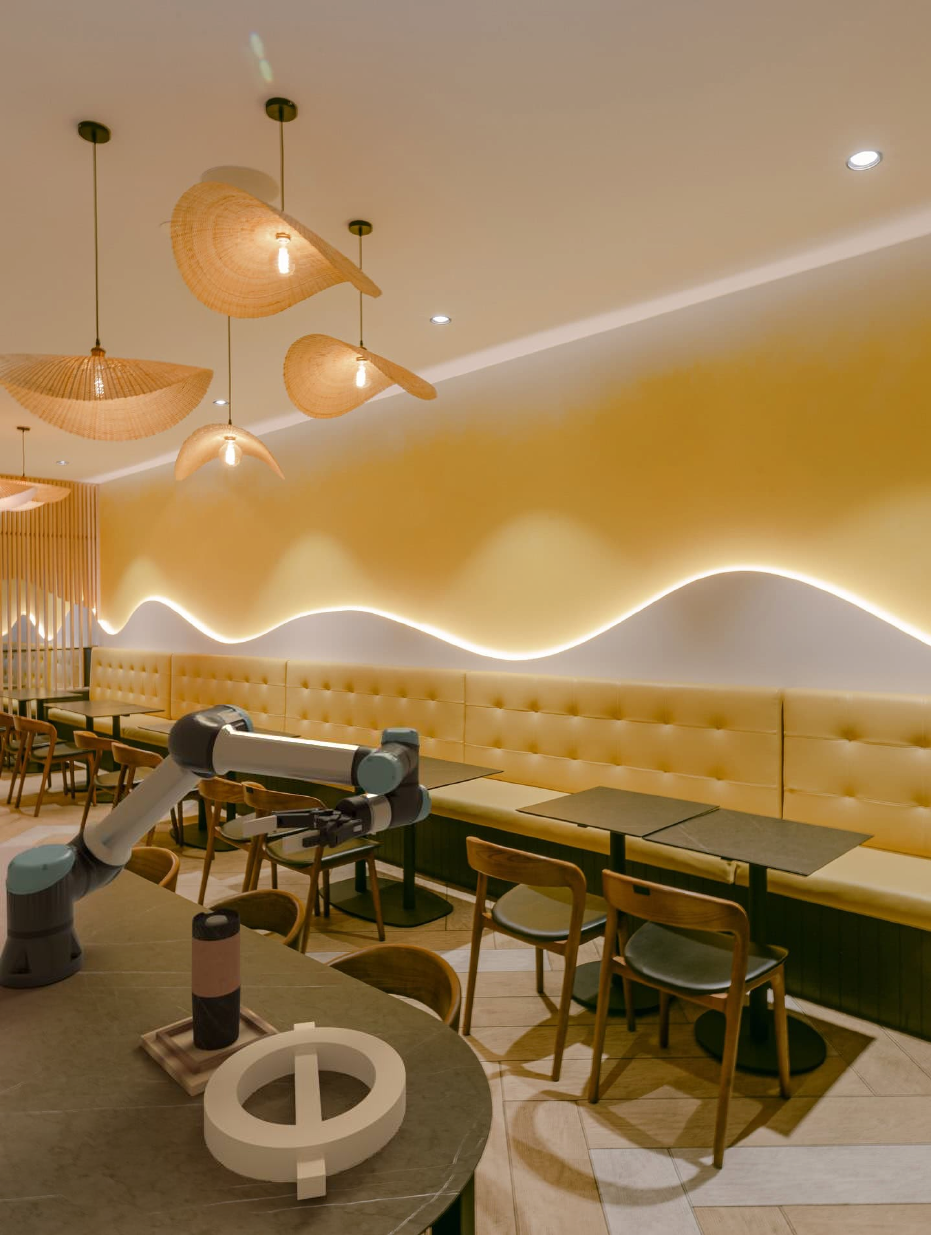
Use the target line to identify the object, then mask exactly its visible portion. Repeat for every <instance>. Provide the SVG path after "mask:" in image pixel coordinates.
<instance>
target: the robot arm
mask: <svg viewBox="0 0 931 1235" xmlns="http://www.w3.org/2000/svg"><path fill="white" fill-rule="evenodd" d="M380 745H381V747H370V746H361V745H355V744H347V743H339V742H330V741H323V740H315V739H308V738H307V739H306V738H298V737H293V736H292V737H289V736H284V735H283V736H282V735H274V734H266V733H259V732H255V728H254V724H253V721H252V719H251V717H250V715H249V714H248V713H247V712H246V711H245V710H243V709H242V708H241V707H239V706H237V705H233V704H216V705H215V706H212V707H209V708H206V709H200V710H198V711H191V712H190V713H187V714H184V715H183V716H181V717H180V718H179V719H178V720H177V721H176V722H175V723H173V726H172V727H171V728H170V730H169V733H168V736H167V751H168V753H169V754H168V755H167V756H166V757H165V758H164V759H163V760H162V761H161V762H160V763H159V764H157V766H156V767H155V768H154V769H153V770H152V771H151V772H150V773H149V774H148V775H147V776H146V777H144V779H143V780H142V781H140V782H139V784H138V785H137V786H135V787H134V788H133V790H131V791H130V792H129V793H128V795H126V797H125V798H123V799H122V800H121V801H120V802H119V803H118V804H117V805H116V806H115V807H114V808H113V809H112V810H111V811H110V812H109V813H108V814H107V815H106V816H105V817H104V818H103V819H102V820H95V821H94V820H93V821H91V822H90V823H87V825H85V826H84V827H83V829H81V830H80V832H79V833H77V835H76V836H74V838H73V839H71V840H70V841H68V843H66V844H64V843H49V844H42V845H39V846H38V847H32V848H29V849H27V850H24V851H22V852H20V853H19V854H17V855H15V856H14V857H13V858H12V859H11V860H10V862H9V863H8V865H7V869H6V879H5V888H6V889H5V890H6V939H5V942H4V945H3V948H2V952H1V954H0V985H1V986H4V987H6V988H15V989H22V988H23V989H25V988H26V989H27V988H36V987H41V986H46V985H49V984H53V983H56V982H59V981H62V980H65V979H67V978H69V977H70V976H73V975H74V974H75V973H77V972H78V971H79V970H81V968H82V967H83V965H84V962H85V961H84V949H83V946H82V944H81V941H80V938H79V936H78V933H77V931H76V927H75V923H74V920H75V919H74V918H75V916H74V911H75V908H74V904H75V903H77V902H78V901H80V900H81V899H83V898H85V897H87V896H88V895H91V894H92V893H94V892H96V891H97V890H99V889H101V888H104V887H105V886H108V885H109V884H110V883H112V882H113V881H115V879H116V878H117V877H118V876H120V875H121V873H122V872H123V870H124V868H125V866H126V864H127V863H128V862H129V860H130V859H131V857H132V848H133V847H134V846H135V845H136V844H137V843H138V842H139V841H140V840H141V839H142V838H143V837H144V836H145V835H146V834H148V833H149V831H151V830H152V829H153V827H155V826H156V825H157V824H158V823H159V822H160V821H161V820H162V819H163V818H164V817H165V816H166V815H167V814H168V813H169V812H170V811H171V810H172V809H173V808H174V807H175V806H176V805H177V804H178V803H180V801H181V800H182V799H183V798H184V797H185V796H187V795H188V793H190V792H191V791H192V790H193V789H194V788H195V787H196V786H197V785H198V784H199V783H200V782H201V781H202V780H206V781H211V780H213V779H215V777H217V775H219V776H220V775H221V776H223V775H225V774H227V773H228V772H230V771H232V772H237V773H238V772H240V773H247V774H254V775H255V774H256V775H261V776H263V775H264V776H271V777H278V778H286V779H295V780H301V781H302V780H303V781H310V782H317V783H324V784H333V785H340V786H348V787H349V786H350V787H355V788H362V790H364V791H365V792H367V793H364V794H359V795H356V796H350V797H345V798H342V799H341V800H339V801H338V802H337V804H336V806H335V807H334V808H325V809H324V808H323V806H322V807H321V806H319V807H313V808H304V809H290V810H289V809H288V810H276V811H275V810H274V811H271V812H270V816H265V817H259V818H255V819H250V820H245V821H242V838H245V839H246V838H250V837H254V836H258V835H263V834H267V833H271V832H272V833H275V834H276V833H277V830H278V829H301V828H302V829H309V830H310V831H305V832H301V833H298V834H292V835H287V836H285V837H284V836H283V837H282V854H283V855H289V854H293V853H297V852H302V851H305V850H309V849H313V848H318V847H321V848H322V847H324V848H325V847H326V846H328V848H329V849H334V848H335V849H336V848H337V847H338V846H341V845H342V844H343V843H345V842H347V841H349V840H351V839H354V838H359V837H362V836H365V835H369V834H371V835H373V836H374V835H376V834H377V832H381V831H385V830H388V829H393V828H397V827H401V826H402V827H403V826H409V825H412V824H414V823H417V822H420V821H423V820H425V819H426V818H427V817H428V816H429V814H430V812H431V808H432V798H431V797H430V791H429V790H428V788H426V787H425V785H423V784H420V747H421V745H420V739H419V732H418V730H417V729H415V728H412V727H404V726H403V727H401V726H400V727H389V728H386V729H383V731H382V733H381V741H380Z"/></svg>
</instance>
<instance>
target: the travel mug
mask: <svg viewBox="0 0 931 1235" xmlns="http://www.w3.org/2000/svg"><path fill="white" fill-rule="evenodd" d="M241 958H242V956H241V913H240V912H239V911H238V910H236V909H235V908H234V909H233V908H227V907H221V908H217V909H216V910H214V911H212V912H207V913H206V912H203V911H201V912H199V913H197V914H195V915H194V916H193V917H192V921H191V1008H192V1010H191V1011H192V1012H191V1013H192V1016H193V1040H194V1045H195V1046H196V1047H197V1048H199V1049H201V1050H208V1051H211V1050H219V1049H223V1048H226V1047H228V1046H230V1045H232V1044H233V1043H234V1042H235V1041H236V1040H237V1039H238V1037H239V1024H240V1003H241V993H242V992H241V990H242V987H241V982H242V975H241V974H242V973H241V972H242V971H241V970H242V968H241V965H242V964H241V963H242V962H241Z"/></svg>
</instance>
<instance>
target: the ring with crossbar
mask: <svg viewBox="0 0 931 1235" xmlns="http://www.w3.org/2000/svg"><path fill="white" fill-rule="evenodd" d="M319 1071H327V1072H329V1071H330V1072H337V1073H341V1074H346V1075H348V1076H351V1077H354V1078H355V1079H357V1080H360V1081H361V1082H363V1084H365V1085H366V1086H367V1087H368V1088H369V1089H370V1091H369V1093H368V1095H366V1096H365V1098H363V1100H362V1101H360V1102H359V1103H358V1104H357V1105H356V1106H354V1107H353V1108H351V1109H350V1110H348V1111H346V1112H343V1113H341V1114H340V1115H337V1116H334V1117H331V1118H329V1119H325V1120H322V1106H321V1104H322V1103H321V1094H320V1081H319V1080H320V1078H319V1077H320V1076H319ZM293 1074H294V1093H295V1094H294V1099H295V1102H294V1104H295V1124H281V1123H279V1124H278V1123H273V1122H268V1121H265V1120H262V1119H259V1118H258V1117H256V1116H253V1115H251V1114H250V1113H249V1112H247V1111H246V1110H245V1109H244V1108H243V1107H242V1106H243V1105H244V1103H245V1102H246V1101H247V1100H248V1098H250V1097H251V1096H252V1095H253V1094H254V1093H255V1092H256V1091H258V1090H260V1088H262V1087H263V1086H265V1085H267V1084H269V1083H271V1082H273V1081H275V1080H278V1079H280V1078H283V1077H286V1076H289V1075H293ZM406 1076H407V1075H406V1068H405V1064H404V1061H403V1059H402V1058H401V1056H400V1054H399V1053H398V1052H397V1050H395V1049H394V1048H393V1047H392V1046H391V1045H390V1044H388V1043H387V1042H385V1041H384V1040H382V1039H380V1038H378V1037H377V1036H374V1035H371V1034H369V1033H366V1032H363V1031H359V1030H357V1029H356V1030H355V1029H350V1028H344V1027H341V1028H340V1027H330V1026H329V1027H328V1026H326V1027H324V1026H323V1027H317V1026H316V1024H315V1021H310V1022H300V1023H294V1024H293V1030H289V1031H284V1032H281V1033H279V1034H276V1035H273V1036H269V1037H267V1038H264V1039H261V1040H259V1041H257V1042H254V1043H252V1044H250V1045H248V1046H246V1047H244V1048H243V1049H241V1050H239V1051H238V1052H236V1053H235V1054H233V1055H232V1056H231V1057H229V1058H228V1059H227V1060H226V1061H224V1062H223V1063H222V1064H221V1065H220V1066H219V1067H218V1068H217V1070H216V1071H215V1072H214V1073H213V1075H212V1076H211V1078H210V1080H209V1082H208V1084H207V1086H206V1089H205V1091H204V1094H203V1135H204V1136H203V1137H204V1141H206V1142H205V1145H206V1144H207V1145H206V1148H207V1147H208V1148H209V1150H210V1151H211V1153H212V1154H213V1156H214V1157H215V1158H216V1159H217V1160H218V1161H219V1162H221V1164H223V1165H224V1166H226V1167H227V1168H229V1169H231V1170H233V1171H236V1172H237V1173H240V1174H242V1175H246V1176H250V1177H256V1178H262V1179H270V1180H271V1179H273V1180H294V1179H297V1182H296V1184H297V1185H296V1186H297V1187H296V1189H297V1190H296V1194H297V1198H296V1199H297V1201H300V1200H306V1199H311V1198H318V1197H323V1196H326V1193H327V1190H326V1187H327V1186H326V1184H327V1183H326V1182H327V1181H326V1178H327V1177H326V1175H327V1174H331V1173H335V1172H336V1171H339V1170H342V1169H344V1168H347V1167H348V1166H350V1165H352V1164H354V1163H356V1162H359V1161H360V1160H363V1159H364V1158H367V1157H368V1156H370V1155H371V1154H373V1153H374V1152H376V1151H377V1150H379V1149H380V1148H381V1147H382V1146H384V1145H385V1144H386V1143H387V1142H388V1141H389V1140H390V1139H391V1138H392V1137H393V1136H394V1135H395V1136H396V1134H397V1133H398V1131H399V1130H400V1128H401V1125H402V1124H403V1121H404V1119H405V1115H406V1105H407V1104H406V1103H407V1102H406V1100H407V1098H406V1097H407V1096H406V1095H407V1094H406V1089H407V1088H406V1085H407V1084H406V1083H407V1081H406V1079H407V1078H406ZM257 1089H258V1090H257ZM253 1092H254V1093H253ZM252 1093H253V1094H252ZM245 1100H246V1101H245ZM403 1118H404V1119H403ZM399 1127H400V1128H399ZM398 1129H399V1130H398ZM396 1132H397V1133H396ZM395 1133H396V1134H395ZM395 1136H394V1137H395ZM394 1137H393V1138H394ZM393 1138H392V1139H393ZM208 1148H207V1149H208ZM209 1150H208V1151H209ZM210 1151H209V1152H210ZM211 1153H210V1154H211ZM212 1154H211V1155H212ZM213 1156H212V1157H213ZM214 1157H213V1158H214ZM215 1158H214V1159H215ZM216 1159H215V1160H216ZM217 1160H216V1161H217ZM218 1161H217V1162H218ZM219 1162H218V1163H219ZM221 1164H220V1165H221ZM224 1166H223V1167H224ZM227 1168H226V1169H227Z"/></svg>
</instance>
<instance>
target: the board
mask: <svg viewBox="0 0 931 1235" xmlns="http://www.w3.org/2000/svg"><path fill="white" fill-rule="evenodd" d="M279 1033H282V1032H280V1031H279V1030H278V1029H277V1028H275V1027H274V1026H273V1025H271V1024H270V1023H268V1022H267V1021H265V1020H264V1019H263V1018H261V1017H260V1016H259V1015H257V1014H256V1013H255V1012H254V1011H252V1010H251V1009H249V1008H248V1007H246V1006H245V1005H244V1004H242V1003H241V1002H240V1024H239V1037H238V1039H237V1040H236V1041H235V1042H234V1043H233V1044H232V1045H230V1046H228V1047H226V1048H223V1049H219V1050H211V1051H208V1050H201V1049H199V1048H197V1047H196V1046H195V1045H194V1040H193V1016H188V1017H187V1018H183V1019H181V1020H179V1021H177V1022H174V1023H171V1024H168V1025H165V1026H163V1027H161V1028H157V1029H155V1030H152V1031H149V1032H147V1033H145V1034H142V1035H140V1036H139V1037H140V1040H139V1041H140V1046H141V1047H142V1048H143V1049H144V1050H145V1051H146V1053H148V1055H150V1057H152V1058H153V1059H154V1061H156V1062H157V1063H158V1064H159V1065H160V1066H161V1067H162V1068H163V1069H164V1070H165V1071H166V1072H167V1073H168V1074H169V1075H170V1076H171V1077H172V1078H173V1079H174V1080H175V1081H176V1082H177V1083H178V1084H179V1085H180V1087H181V1088H183V1089H184V1090H185V1091H186V1092H187V1093H188V1094H189V1095H190V1096H191V1097H195V1096H197V1095H199V1094H201V1093H203V1092H204V1093H205V1089H206V1086H207V1084H208V1082H209V1080H210V1078H211V1076H212V1075H213V1073H214V1072H215V1071H216V1070H217V1068H218V1067H219V1066H220V1065H221V1064H222V1063H223V1062H224V1061H226V1060H227V1059H228V1058H229V1057H231V1056H232V1055H233V1054H235V1053H236V1052H238V1051H239V1050H241V1049H243V1048H244V1047H246V1046H248V1045H250V1044H252V1043H254V1042H257V1041H259V1040H261V1039H264V1038H267V1037H269V1036H273V1035H276V1034H279Z"/></svg>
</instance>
